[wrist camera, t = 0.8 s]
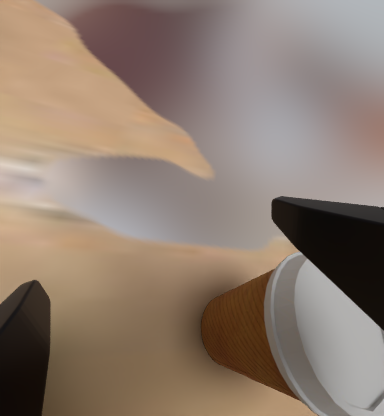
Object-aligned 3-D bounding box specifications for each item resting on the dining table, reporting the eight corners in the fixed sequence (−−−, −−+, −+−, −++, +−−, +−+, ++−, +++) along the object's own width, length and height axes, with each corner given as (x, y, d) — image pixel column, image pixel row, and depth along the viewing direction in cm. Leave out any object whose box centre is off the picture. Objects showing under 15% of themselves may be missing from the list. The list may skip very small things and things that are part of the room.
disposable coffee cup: (174, 377, 19) (290, 419, 10) (196, 266, 24) (285, 224, 15) (264, 398, 22) (424, 446, 12) (266, 294, 27) (379, 273, 18)
